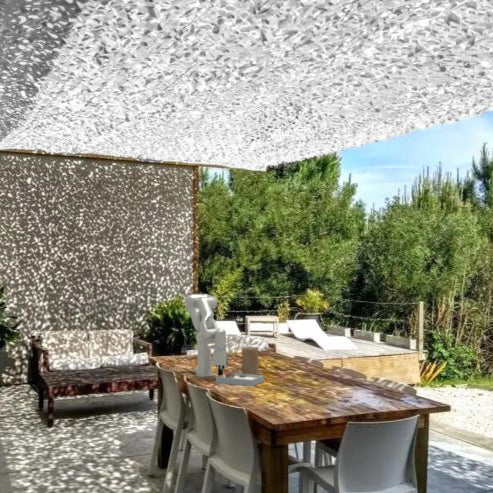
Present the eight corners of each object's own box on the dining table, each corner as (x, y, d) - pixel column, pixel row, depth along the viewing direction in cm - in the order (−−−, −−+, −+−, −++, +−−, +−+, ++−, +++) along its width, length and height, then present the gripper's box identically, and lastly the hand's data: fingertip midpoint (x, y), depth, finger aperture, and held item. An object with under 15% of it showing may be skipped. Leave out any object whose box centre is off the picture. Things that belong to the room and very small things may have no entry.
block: (255, 377, 437) (255, 348, 438) (241, 377, 439) (241, 348, 440) (258, 375, 447) (258, 346, 448) (244, 374, 449) (244, 346, 450)
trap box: (215, 382, 419) (215, 376, 419) (228, 378, 435) (228, 372, 435) (252, 386, 407) (252, 380, 407) (263, 381, 423) (263, 375, 423)
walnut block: (225, 377, 423) (225, 373, 424) (228, 376, 428) (228, 372, 428) (231, 378, 421) (231, 373, 422) (234, 377, 426) (234, 372, 426)
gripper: (208, 348, 428) (208, 375, 428) (227, 349, 421) (227, 376, 421) (213, 346, 435) (213, 373, 434) (232, 347, 428) (232, 375, 428)
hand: (220, 375), depth 428 cm, fingers closed
